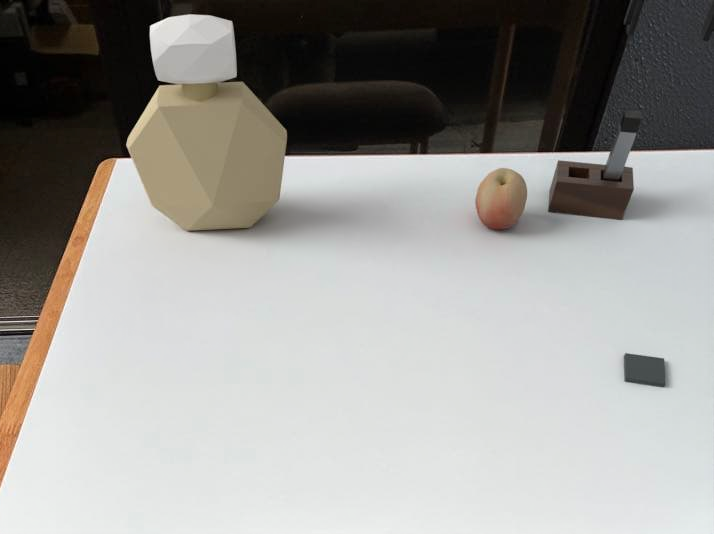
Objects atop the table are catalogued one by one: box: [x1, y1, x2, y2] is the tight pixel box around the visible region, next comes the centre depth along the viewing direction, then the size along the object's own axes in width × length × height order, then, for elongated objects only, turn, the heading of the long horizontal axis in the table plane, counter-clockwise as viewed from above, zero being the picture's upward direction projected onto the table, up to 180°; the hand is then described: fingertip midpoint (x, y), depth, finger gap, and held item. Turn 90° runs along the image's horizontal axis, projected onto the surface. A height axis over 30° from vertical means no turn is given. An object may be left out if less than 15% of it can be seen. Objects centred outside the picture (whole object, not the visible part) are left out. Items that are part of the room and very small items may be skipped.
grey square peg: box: [601, 109, 643, 182], centre depth 102 cm, size 2×2×14 cm
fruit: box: [474, 167, 528, 230], centre depth 103 cm, size 8×8×8 cm
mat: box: [623, 352, 667, 388], centre depth 86 cm, size 5×5×1 cm
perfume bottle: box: [125, 13, 288, 231], centre depth 97 cm, size 12×24×28 cm, turn 93°
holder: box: [547, 159, 635, 221], centre depth 107 cm, size 7×12×5 cm, turn 76°
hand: (666, 34), depth 88 cm, fingers open, 9 cm apart
